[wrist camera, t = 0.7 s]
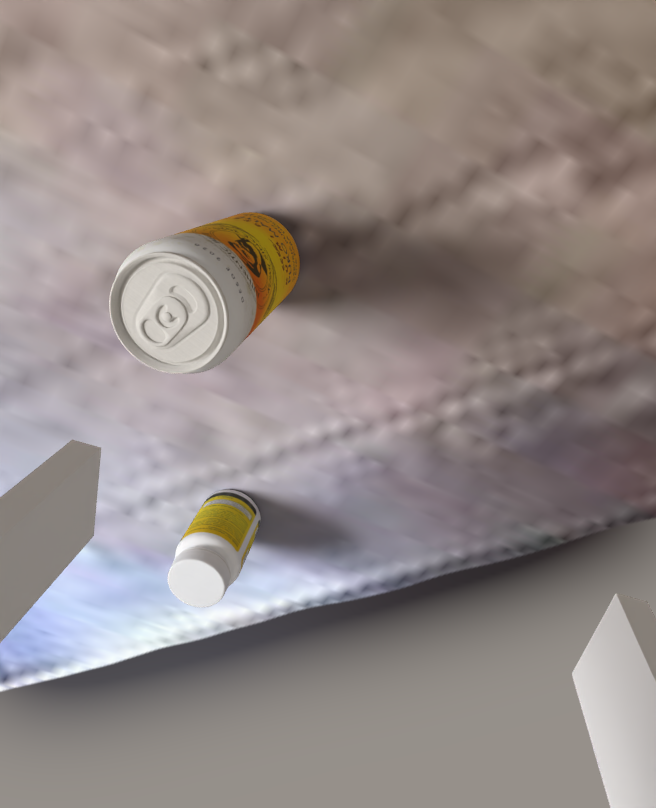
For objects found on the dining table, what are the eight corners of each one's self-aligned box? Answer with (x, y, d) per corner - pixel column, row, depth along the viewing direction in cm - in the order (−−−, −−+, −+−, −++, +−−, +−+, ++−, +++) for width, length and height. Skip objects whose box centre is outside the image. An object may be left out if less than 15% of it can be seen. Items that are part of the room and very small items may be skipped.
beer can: (321, 261, 39) (265, 319, 25) (259, 323, 41) (176, 408, 27) (253, 190, 38) (157, 210, 24) (193, 258, 40) (73, 311, 26)
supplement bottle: (196, 490, 47) (152, 556, 39) (254, 484, 46) (220, 551, 38) (212, 541, 49) (172, 614, 41) (267, 537, 48) (238, 611, 40)
